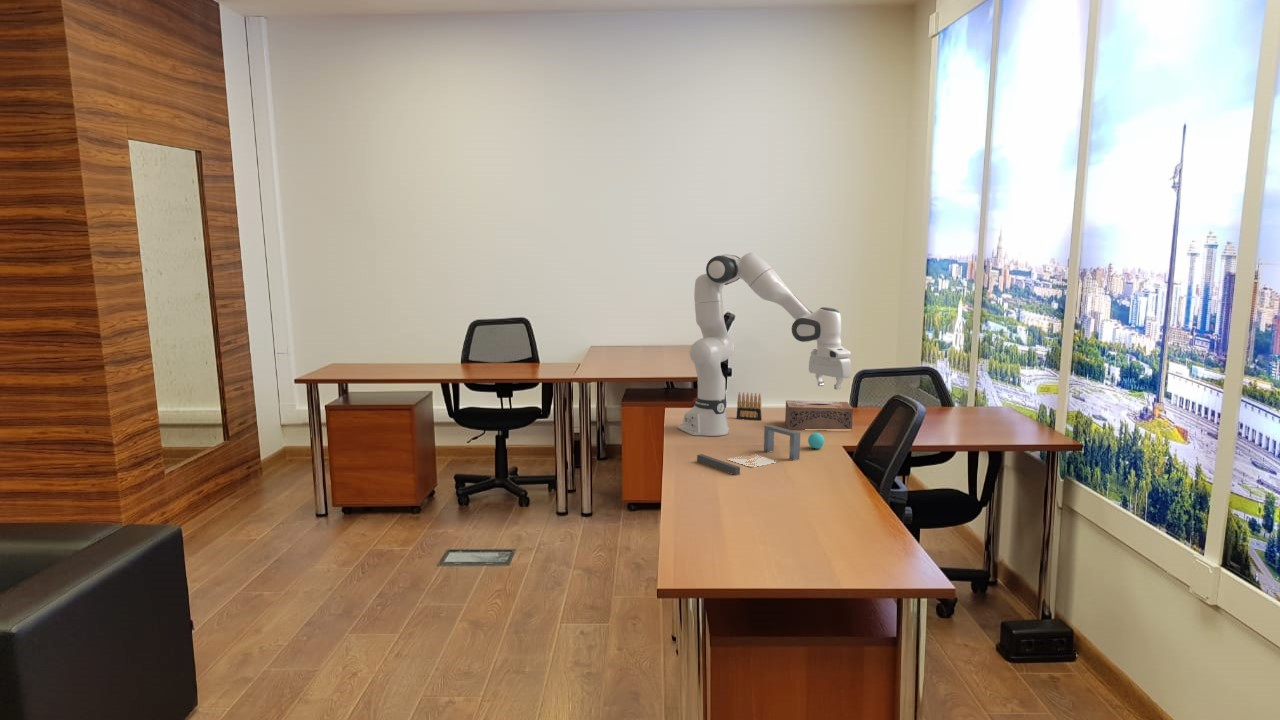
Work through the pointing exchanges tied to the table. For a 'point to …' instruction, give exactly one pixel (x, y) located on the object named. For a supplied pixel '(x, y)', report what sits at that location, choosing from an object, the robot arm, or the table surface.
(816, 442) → the ball
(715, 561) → the table surface
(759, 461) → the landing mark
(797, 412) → the tissue box cover
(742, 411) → the ammunition clip
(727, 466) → the stopper
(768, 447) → the bridge
